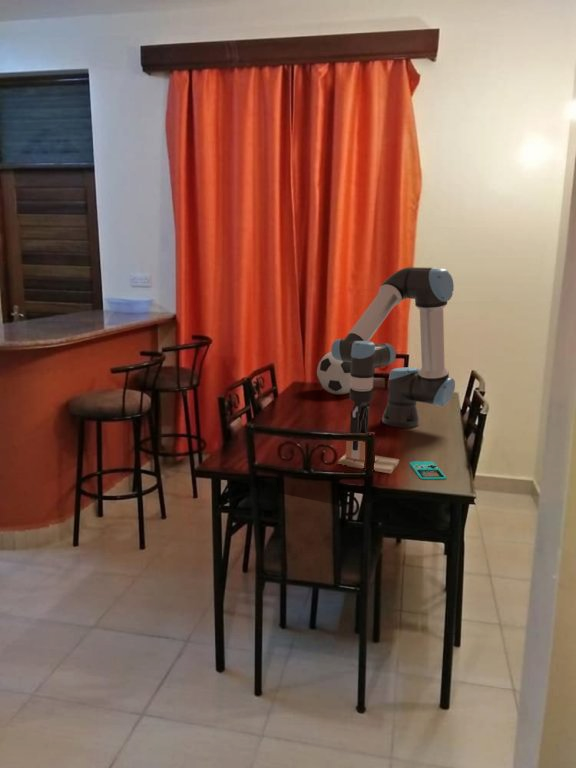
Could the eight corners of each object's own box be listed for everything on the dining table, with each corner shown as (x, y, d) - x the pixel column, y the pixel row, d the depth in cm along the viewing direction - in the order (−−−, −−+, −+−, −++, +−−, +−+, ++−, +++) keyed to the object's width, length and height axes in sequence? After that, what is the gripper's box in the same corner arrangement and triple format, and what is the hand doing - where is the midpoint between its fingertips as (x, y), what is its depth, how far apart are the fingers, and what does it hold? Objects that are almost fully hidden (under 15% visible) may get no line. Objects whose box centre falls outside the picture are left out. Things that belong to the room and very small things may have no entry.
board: (348, 454, 201) (348, 450, 201) (399, 462, 194) (399, 459, 194) (337, 464, 191) (337, 460, 191) (390, 473, 184) (390, 470, 184)
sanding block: (350, 454, 197) (351, 431, 196) (370, 457, 195) (371, 434, 193) (345, 458, 193) (346, 435, 191) (365, 462, 190) (366, 439, 188)
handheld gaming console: (432, 460, 195) (447, 477, 180) (432, 463, 195) (447, 480, 180) (408, 460, 194) (421, 477, 179) (408, 463, 194) (420, 481, 180)
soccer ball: (307, 392, 289) (308, 349, 284) (339, 386, 302) (341, 345, 297) (336, 401, 272) (338, 355, 267) (369, 395, 285) (372, 351, 280)
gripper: (358, 382, 198) (356, 446, 203) (341, 393, 182) (338, 462, 187) (380, 384, 195) (376, 449, 200) (363, 395, 179) (360, 466, 184)
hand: (358, 455), depth 194 cm, fingers closed on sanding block, 5 cm apart
